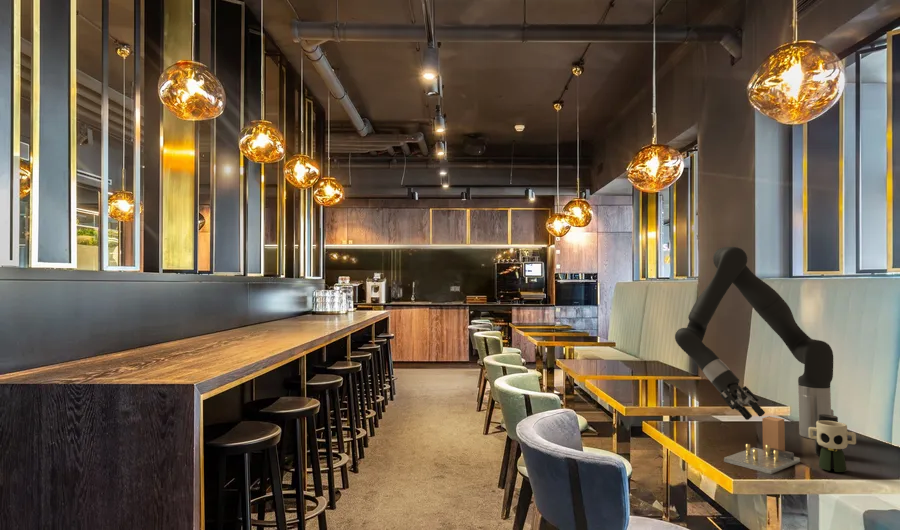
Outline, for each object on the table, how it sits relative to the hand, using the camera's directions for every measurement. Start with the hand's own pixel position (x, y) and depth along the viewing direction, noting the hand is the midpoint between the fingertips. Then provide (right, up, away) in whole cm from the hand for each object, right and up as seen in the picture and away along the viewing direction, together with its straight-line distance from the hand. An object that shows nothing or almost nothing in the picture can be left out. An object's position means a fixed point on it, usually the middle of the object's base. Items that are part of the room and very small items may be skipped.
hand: (756, 416), depth 175 cm
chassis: (-7, -9, -16) cm, 19 cm away
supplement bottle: (+17, -10, -9) cm, 21 cm away
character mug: (+9, -9, -23) cm, 26 cm away
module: (+3, -10, -5) cm, 11 cm away
